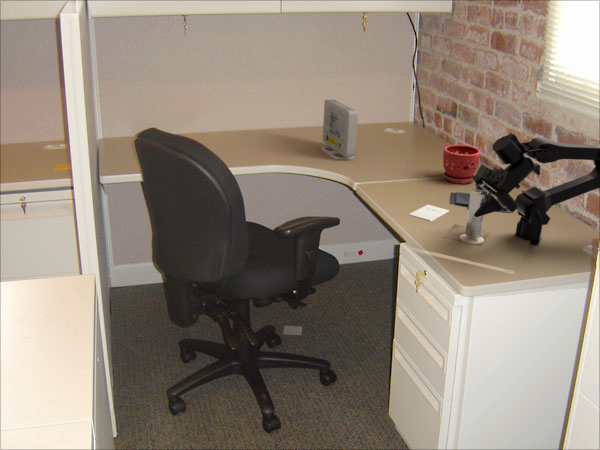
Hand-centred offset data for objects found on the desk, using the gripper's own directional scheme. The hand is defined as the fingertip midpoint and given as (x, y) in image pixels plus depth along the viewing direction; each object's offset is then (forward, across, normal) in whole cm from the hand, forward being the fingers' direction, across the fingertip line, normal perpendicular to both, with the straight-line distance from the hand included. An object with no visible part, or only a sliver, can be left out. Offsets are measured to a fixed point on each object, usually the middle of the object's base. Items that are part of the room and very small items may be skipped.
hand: (471, 213), depth 180 cm
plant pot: (-8, -55, +21) cm, 59 cm away
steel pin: (+4, 0, +6) cm, 7 cm away
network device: (+19, -93, -6) cm, 95 cm away
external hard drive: (+10, -21, +4) cm, 24 cm away
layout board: (+5, -3, +7) cm, 9 cm away
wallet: (-6, -31, +20) cm, 37 cm away
